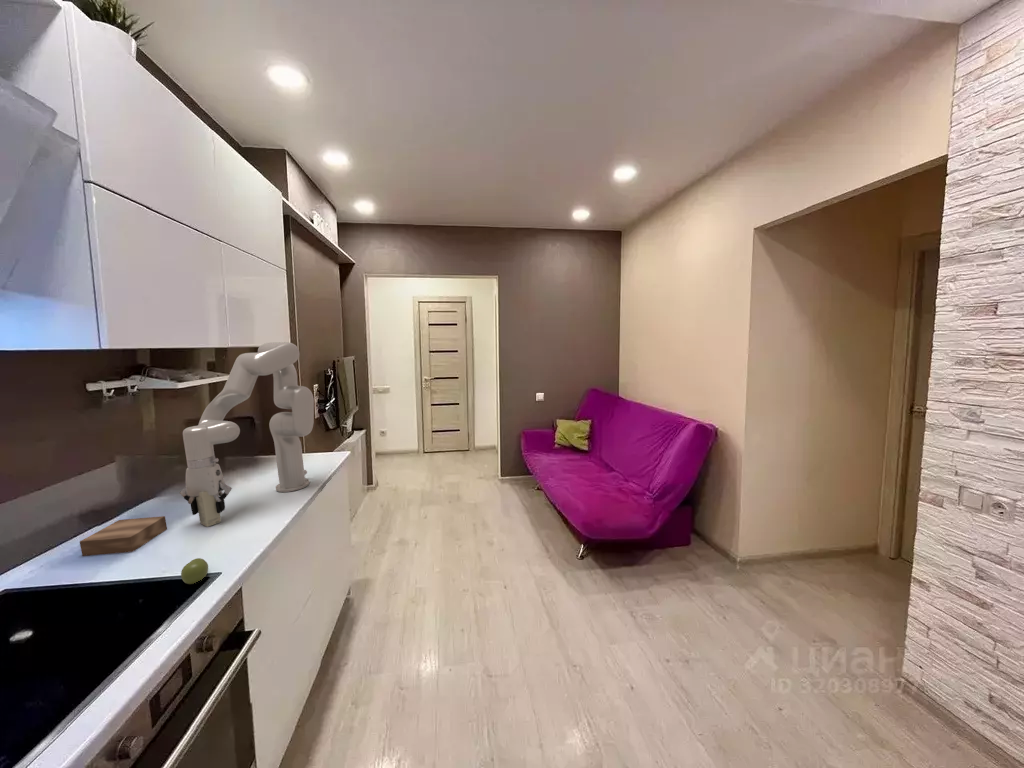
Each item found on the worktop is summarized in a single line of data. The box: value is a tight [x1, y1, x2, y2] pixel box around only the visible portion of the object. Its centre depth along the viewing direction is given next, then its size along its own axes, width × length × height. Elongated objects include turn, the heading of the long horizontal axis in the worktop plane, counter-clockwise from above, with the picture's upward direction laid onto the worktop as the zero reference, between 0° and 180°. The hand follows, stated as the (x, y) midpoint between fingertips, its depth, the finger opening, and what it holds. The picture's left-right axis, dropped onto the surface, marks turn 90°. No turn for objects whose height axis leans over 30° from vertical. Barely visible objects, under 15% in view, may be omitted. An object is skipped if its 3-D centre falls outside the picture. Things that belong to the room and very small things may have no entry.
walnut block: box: [79, 515, 168, 557], centre depth 129 cm, size 14×14×5 cm
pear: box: [180, 557, 209, 585], centre depth 108 cm, size 6×5×10 cm
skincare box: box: [196, 491, 222, 528], centre depth 139 cm, size 6×4×12 cm
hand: (208, 512), depth 140 cm, fingers closed on skincare box, 7 cm apart
